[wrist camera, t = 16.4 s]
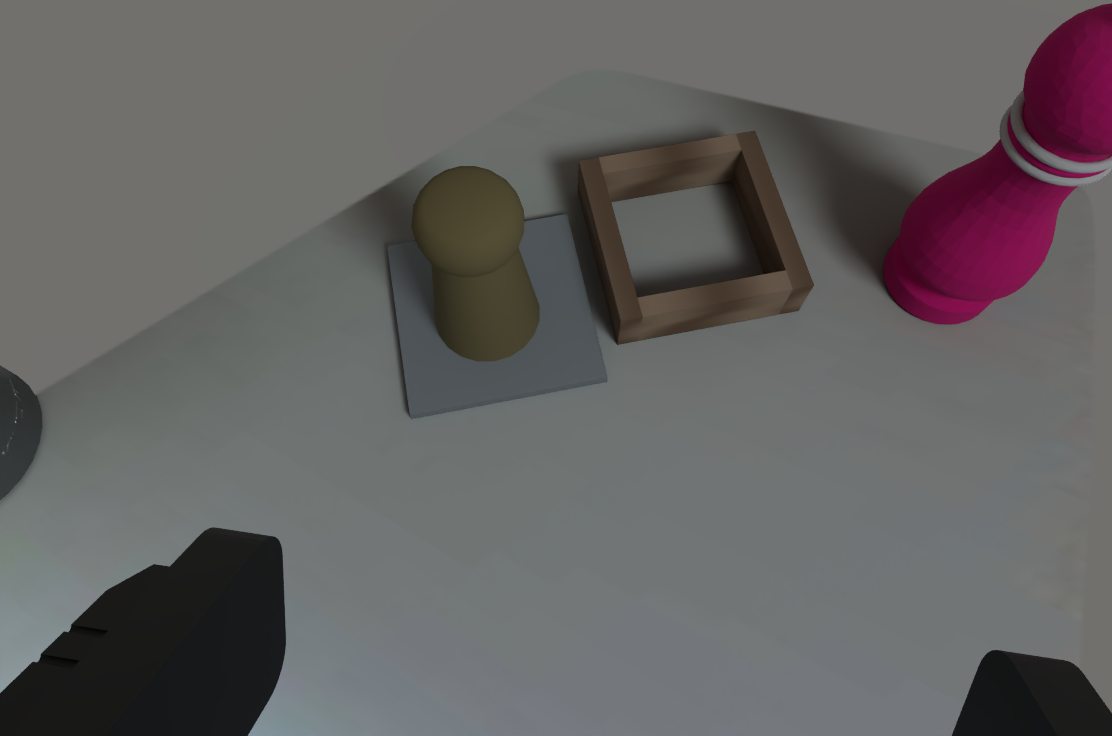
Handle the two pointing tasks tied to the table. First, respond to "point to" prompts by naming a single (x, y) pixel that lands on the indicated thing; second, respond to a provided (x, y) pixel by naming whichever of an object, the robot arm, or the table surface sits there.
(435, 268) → the cork
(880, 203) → the table surface
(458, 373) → the rubber mat
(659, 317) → the walnut collar
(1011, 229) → the pepper mill
